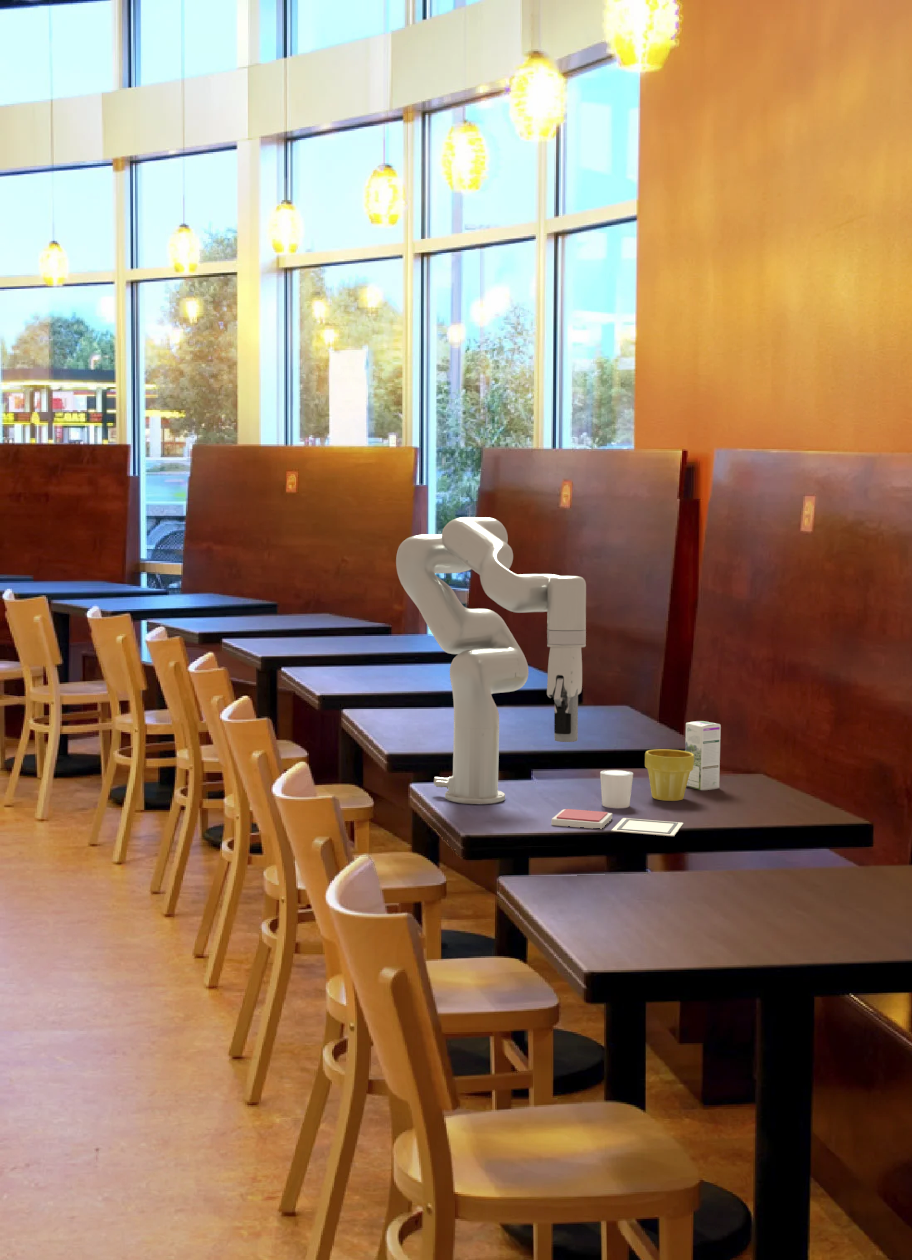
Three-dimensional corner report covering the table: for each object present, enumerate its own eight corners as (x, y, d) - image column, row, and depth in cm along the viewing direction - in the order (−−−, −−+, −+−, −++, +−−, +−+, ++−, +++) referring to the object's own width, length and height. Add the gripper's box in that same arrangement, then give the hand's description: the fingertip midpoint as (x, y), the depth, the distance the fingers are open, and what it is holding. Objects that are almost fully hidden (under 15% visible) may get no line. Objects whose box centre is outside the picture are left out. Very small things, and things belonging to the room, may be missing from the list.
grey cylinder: (560, 742, 297) (560, 689, 296) (550, 739, 301) (550, 687, 300) (581, 741, 298) (581, 689, 298) (571, 738, 303) (571, 686, 302)
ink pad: (551, 825, 297) (551, 817, 297) (563, 815, 307) (563, 807, 307) (602, 829, 294) (602, 821, 294) (612, 819, 304) (612, 811, 304)
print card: (611, 831, 293) (611, 829, 293) (623, 819, 304) (623, 817, 304) (673, 836, 289) (673, 834, 289) (683, 823, 301) (683, 822, 301)
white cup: (633, 809, 314) (634, 775, 314) (600, 808, 314) (601, 774, 314) (630, 802, 321) (631, 769, 321) (598, 801, 321) (598, 768, 321)
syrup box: (720, 788, 339) (722, 723, 337) (699, 791, 336) (702, 725, 334) (703, 784, 343) (705, 720, 342) (682, 786, 340) (684, 721, 339)
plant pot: (702, 798, 327) (703, 753, 326) (675, 805, 319) (676, 758, 319) (661, 791, 334) (662, 747, 333) (634, 798, 326) (635, 752, 325)
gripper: (558, 636, 308) (558, 726, 309) (536, 641, 292) (536, 736, 293) (595, 636, 305) (594, 727, 307) (574, 642, 289) (574, 738, 290)
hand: (566, 731), depth 300 cm, fingers closed on grey cylinder, 4 cm apart
